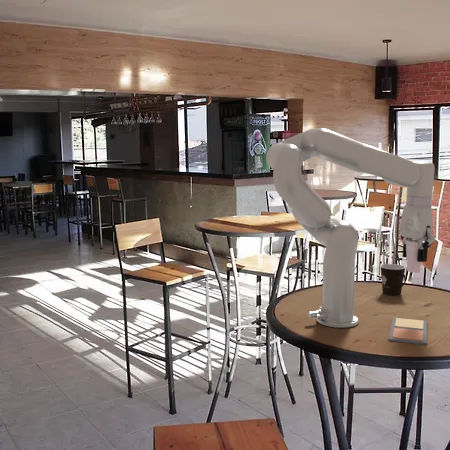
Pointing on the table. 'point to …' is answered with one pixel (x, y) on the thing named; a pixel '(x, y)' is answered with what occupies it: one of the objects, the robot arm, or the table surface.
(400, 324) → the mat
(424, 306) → the table surface
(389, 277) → the coffee mug
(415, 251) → the smoothie
